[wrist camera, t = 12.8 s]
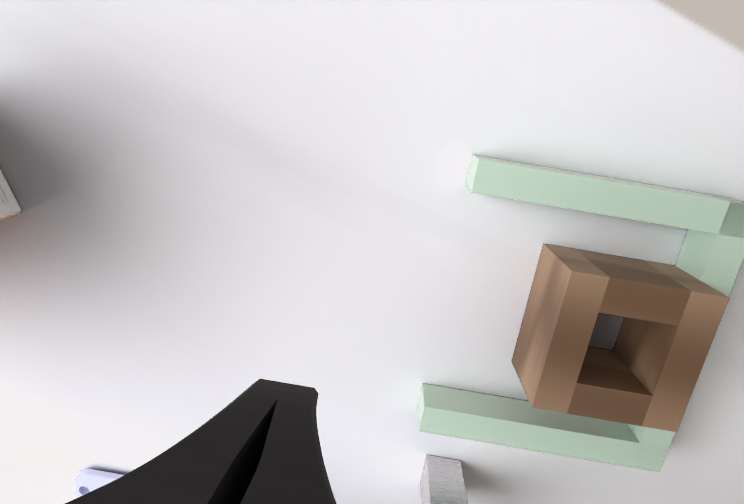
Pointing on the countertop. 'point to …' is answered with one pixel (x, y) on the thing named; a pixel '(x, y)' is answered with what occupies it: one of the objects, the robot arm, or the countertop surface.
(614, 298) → the walnut block
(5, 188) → the small box
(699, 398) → the countertop surface
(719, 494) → the countertop surface
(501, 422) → the green u-shaped bracket
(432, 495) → the grey upright post
